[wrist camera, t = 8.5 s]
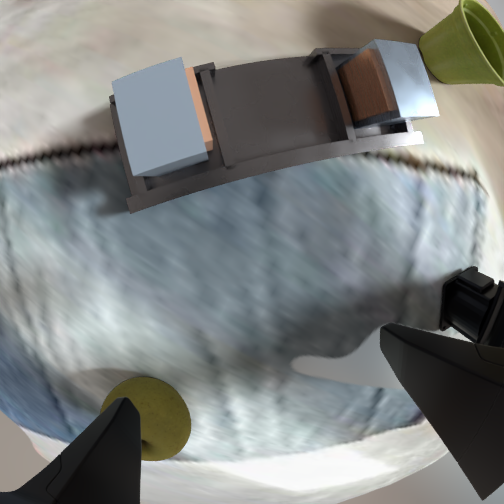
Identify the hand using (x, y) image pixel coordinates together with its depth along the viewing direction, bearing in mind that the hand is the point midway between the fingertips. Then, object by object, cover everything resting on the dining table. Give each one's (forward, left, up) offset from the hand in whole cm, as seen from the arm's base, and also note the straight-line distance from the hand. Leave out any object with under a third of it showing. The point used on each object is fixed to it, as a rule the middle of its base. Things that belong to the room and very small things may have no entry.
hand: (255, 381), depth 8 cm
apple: (-10, +11, -13) cm, 20 cm away
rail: (+10, -6, -13) cm, 17 cm away
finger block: (+10, +1, -12) cm, 15 cm away
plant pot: (+15, -26, -13) cm, 33 cm away
